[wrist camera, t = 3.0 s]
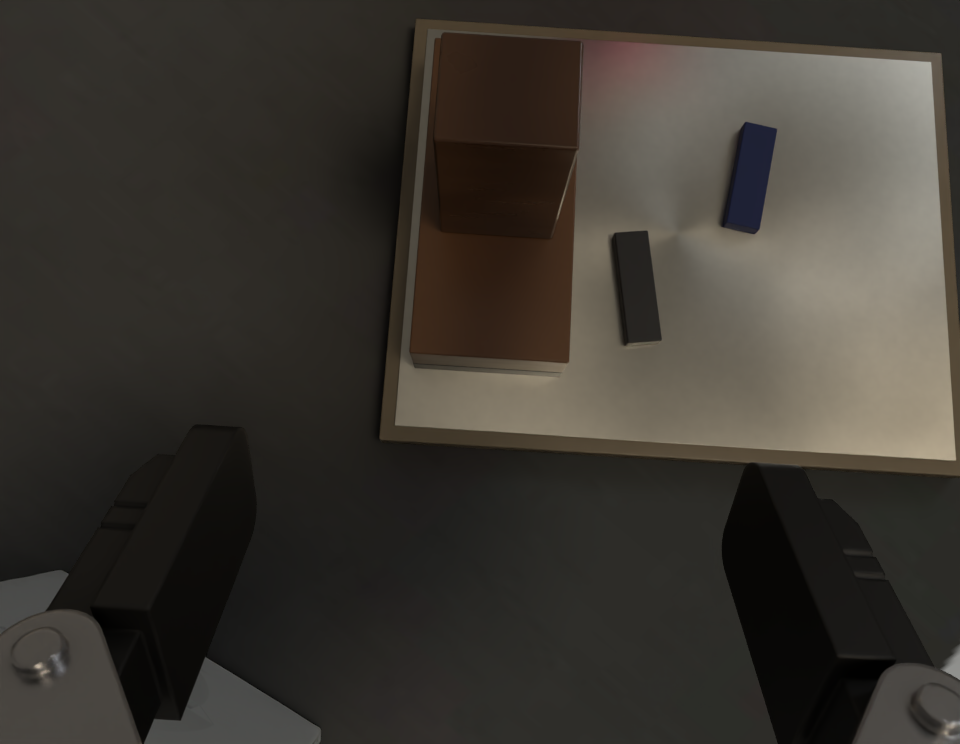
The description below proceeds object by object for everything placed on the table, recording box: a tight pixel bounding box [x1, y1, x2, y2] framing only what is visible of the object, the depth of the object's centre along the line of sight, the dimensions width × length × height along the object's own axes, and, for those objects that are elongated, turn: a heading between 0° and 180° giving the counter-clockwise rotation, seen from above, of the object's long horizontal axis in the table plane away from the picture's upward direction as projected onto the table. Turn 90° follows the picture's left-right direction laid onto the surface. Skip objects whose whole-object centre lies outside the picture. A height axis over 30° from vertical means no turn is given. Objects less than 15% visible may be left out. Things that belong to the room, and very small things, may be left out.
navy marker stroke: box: [722, 122, 777, 234], centre depth 27 cm, size 1×4×1 cm, turn 167°
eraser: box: [409, 32, 584, 377], centre depth 23 cm, size 5×11×8 cm, turn 177°
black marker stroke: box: [612, 230, 662, 346], centre depth 26 cm, size 1×4×1 cm, turn 5°
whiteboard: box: [379, 19, 960, 478], centre depth 27 cm, size 20×16×1 cm
